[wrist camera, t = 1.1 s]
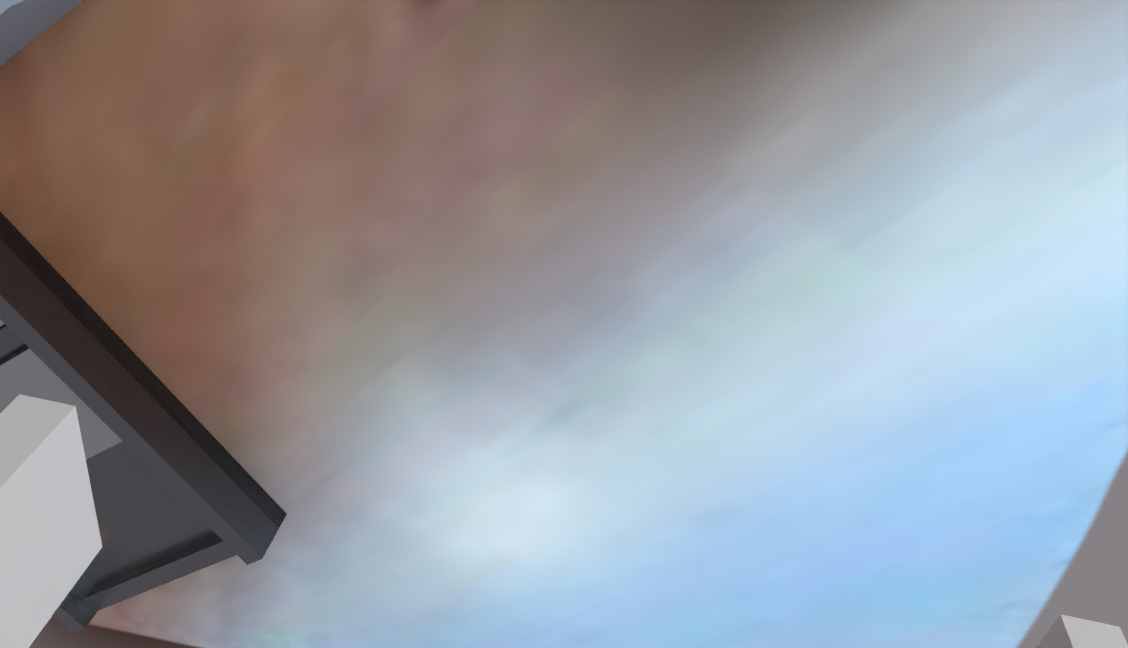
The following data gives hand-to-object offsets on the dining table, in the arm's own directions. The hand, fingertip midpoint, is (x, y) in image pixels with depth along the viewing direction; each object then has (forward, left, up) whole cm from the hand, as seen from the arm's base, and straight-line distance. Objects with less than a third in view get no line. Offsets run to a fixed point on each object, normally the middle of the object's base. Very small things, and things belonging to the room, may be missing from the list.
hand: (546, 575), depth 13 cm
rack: (0, -34, -23) cm, 41 cm away
